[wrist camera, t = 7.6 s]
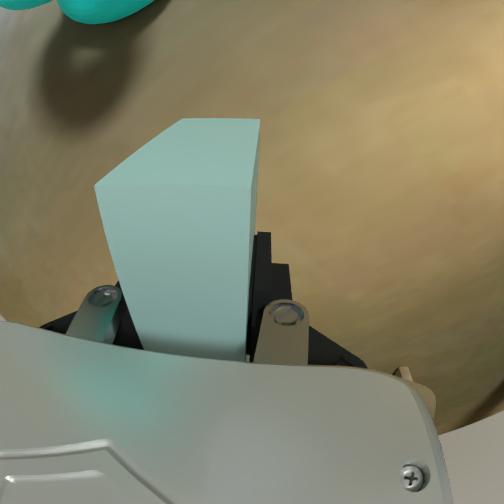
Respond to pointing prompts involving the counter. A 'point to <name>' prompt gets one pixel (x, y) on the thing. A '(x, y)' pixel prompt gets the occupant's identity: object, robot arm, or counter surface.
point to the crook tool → (186, 235)
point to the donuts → (85, 8)
